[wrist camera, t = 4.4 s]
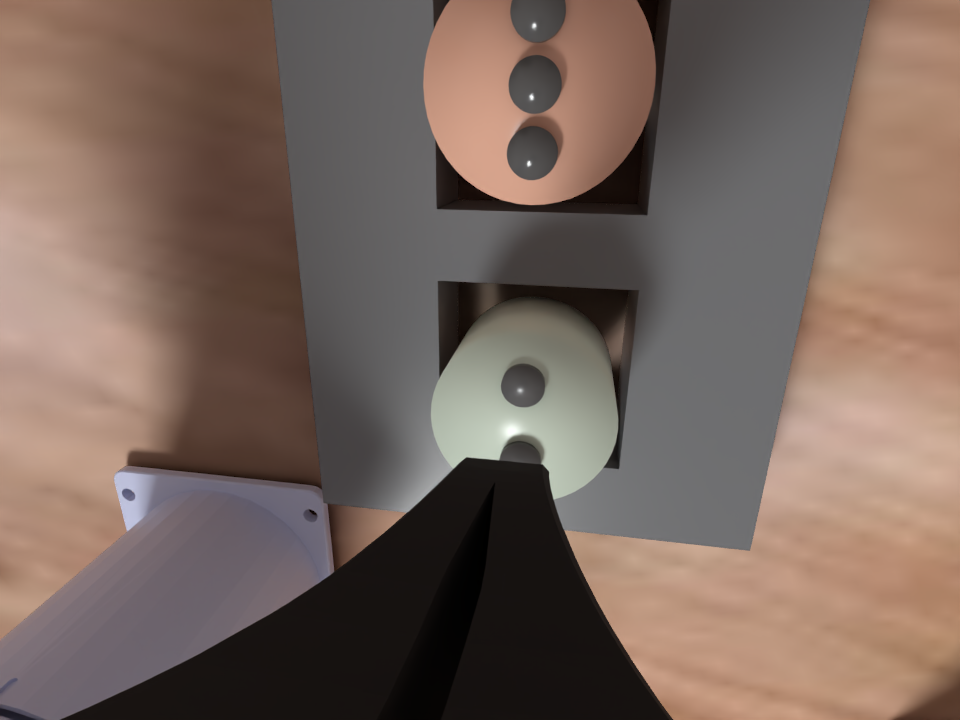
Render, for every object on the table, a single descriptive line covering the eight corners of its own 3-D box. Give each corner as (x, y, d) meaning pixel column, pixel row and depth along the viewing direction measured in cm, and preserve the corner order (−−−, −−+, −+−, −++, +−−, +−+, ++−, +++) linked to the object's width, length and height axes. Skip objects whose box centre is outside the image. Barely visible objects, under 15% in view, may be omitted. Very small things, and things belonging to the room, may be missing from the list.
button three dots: (629, 194, 13) (642, 209, 10) (457, 190, 14) (423, 203, 11) (649, -10, 12) (672, -62, 9) (456, -4, 12) (417, -52, 9)
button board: (727, 497, 18) (749, 550, 15) (354, 460, 19) (323, 503, 17) (941, -606, 10) (1053, -840, 7) (279, -496, 11) (203, -656, 9)
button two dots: (604, 445, 15) (609, 516, 12) (458, 432, 16) (430, 497, 13) (618, 300, 14) (628, 342, 11) (457, 292, 15) (426, 330, 12)
